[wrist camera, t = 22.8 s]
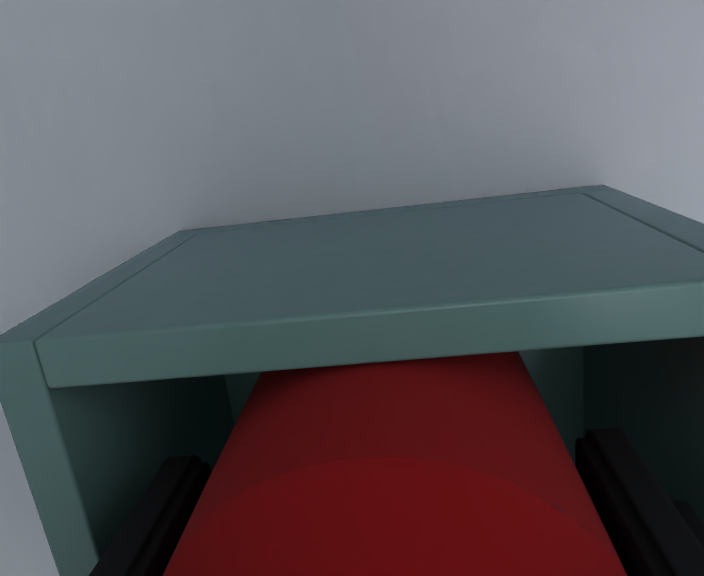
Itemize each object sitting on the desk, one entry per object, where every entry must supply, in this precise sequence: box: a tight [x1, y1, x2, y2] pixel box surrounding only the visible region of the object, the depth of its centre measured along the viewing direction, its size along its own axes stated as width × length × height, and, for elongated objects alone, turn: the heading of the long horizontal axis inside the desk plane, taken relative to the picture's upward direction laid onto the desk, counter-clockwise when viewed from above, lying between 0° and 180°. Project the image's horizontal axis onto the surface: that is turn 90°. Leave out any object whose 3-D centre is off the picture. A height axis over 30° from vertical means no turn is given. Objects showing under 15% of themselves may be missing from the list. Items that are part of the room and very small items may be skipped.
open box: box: [0, 185, 704, 576], centre depth 15 cm, size 15×13×9 cm
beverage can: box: [163, 351, 628, 576], centre depth 12 cm, size 7×7×12 cm
